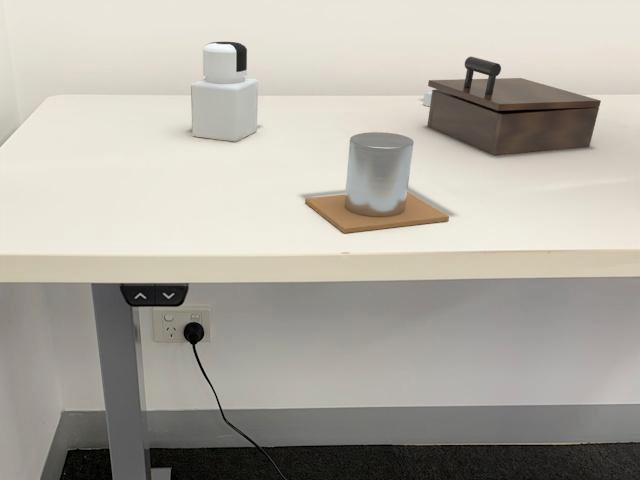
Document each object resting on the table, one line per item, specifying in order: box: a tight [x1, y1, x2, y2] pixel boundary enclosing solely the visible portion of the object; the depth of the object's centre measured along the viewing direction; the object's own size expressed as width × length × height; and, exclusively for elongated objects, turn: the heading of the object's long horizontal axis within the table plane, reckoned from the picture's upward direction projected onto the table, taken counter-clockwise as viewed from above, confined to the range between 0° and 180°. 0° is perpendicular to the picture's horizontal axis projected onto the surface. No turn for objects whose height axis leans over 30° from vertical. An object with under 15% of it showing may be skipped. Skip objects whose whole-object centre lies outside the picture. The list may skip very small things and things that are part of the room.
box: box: [427, 89, 600, 157], centre depth 104 cm, size 15×17×6 cm
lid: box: [427, 56, 602, 111], centre depth 101 cm, size 16×17×5 cm
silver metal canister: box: [345, 131, 415, 217], centre depth 78 cm, size 6×6×7 cm
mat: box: [304, 191, 450, 234], centre depth 80 cm, size 12×10×1 cm
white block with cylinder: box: [190, 41, 259, 143], centre depth 105 cm, size 7×7×12 cm
